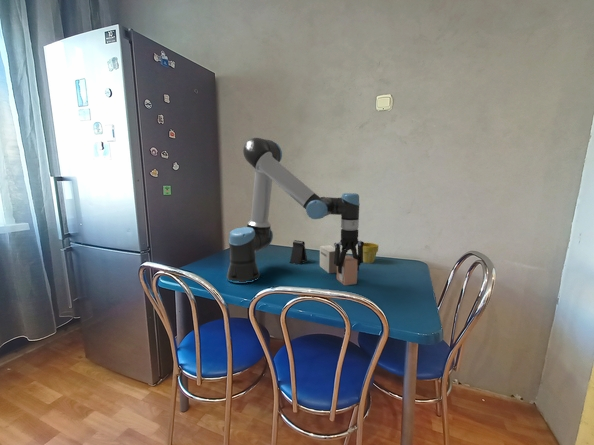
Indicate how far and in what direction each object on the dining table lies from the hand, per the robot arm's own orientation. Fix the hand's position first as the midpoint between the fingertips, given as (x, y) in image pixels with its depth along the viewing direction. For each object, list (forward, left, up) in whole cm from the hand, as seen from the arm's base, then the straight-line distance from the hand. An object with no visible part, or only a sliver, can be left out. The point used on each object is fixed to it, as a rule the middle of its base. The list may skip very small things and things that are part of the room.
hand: (348, 279), depth 127 cm
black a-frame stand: (-11, +37, -2) cm, 38 cm away
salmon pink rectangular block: (0, +2, -2) cm, 2 cm away
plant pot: (+26, +25, -2) cm, 36 cm away
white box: (0, +20, -2) cm, 20 cm away
